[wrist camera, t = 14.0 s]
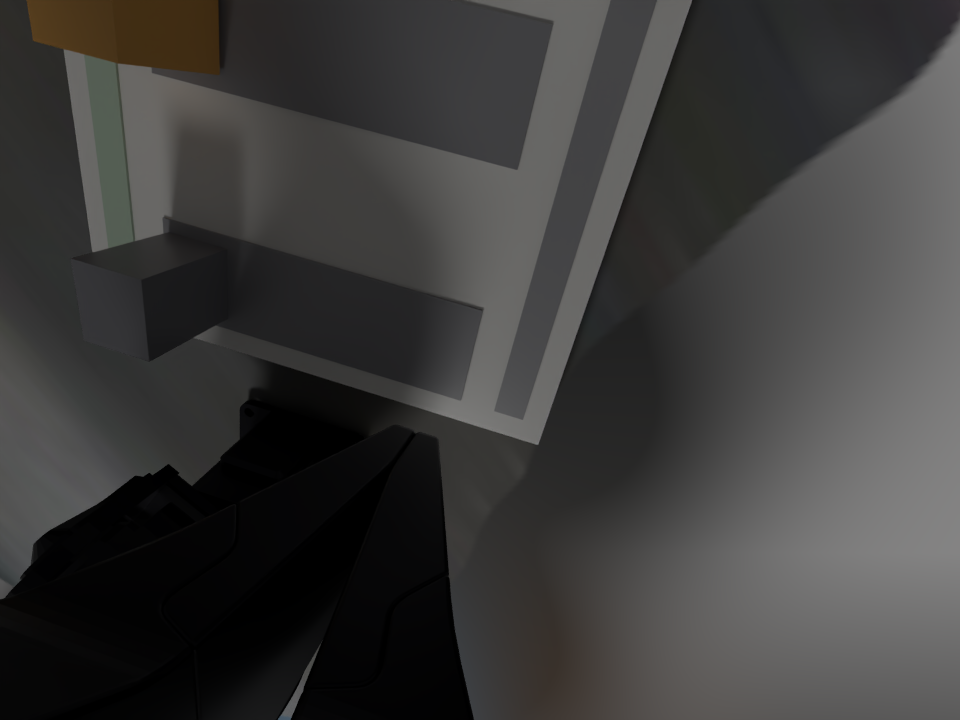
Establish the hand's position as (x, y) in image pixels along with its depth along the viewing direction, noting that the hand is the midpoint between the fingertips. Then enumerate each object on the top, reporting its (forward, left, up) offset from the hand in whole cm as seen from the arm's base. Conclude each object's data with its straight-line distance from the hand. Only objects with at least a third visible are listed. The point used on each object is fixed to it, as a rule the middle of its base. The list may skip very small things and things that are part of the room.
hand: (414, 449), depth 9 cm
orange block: (+6, +12, -10) cm, 17 cm away
